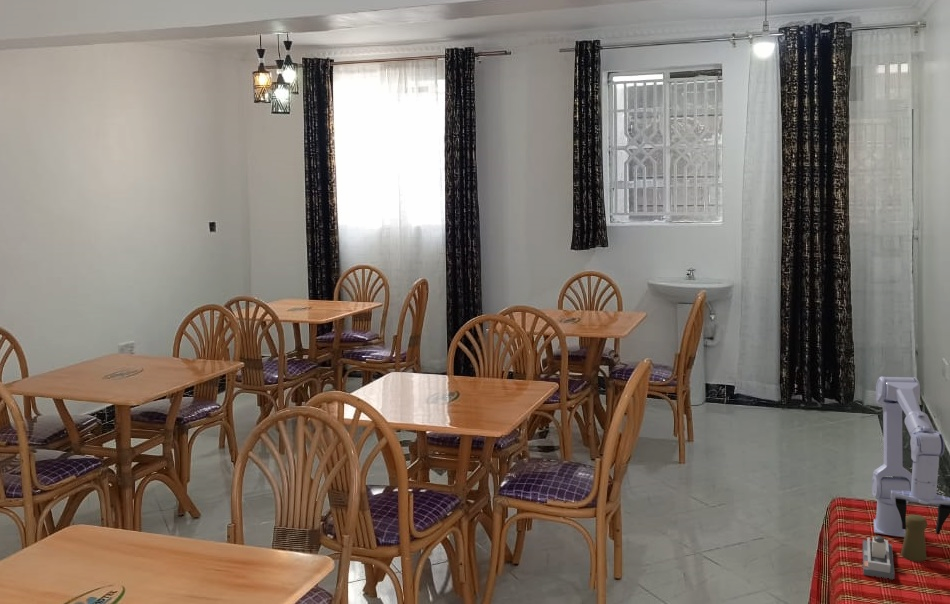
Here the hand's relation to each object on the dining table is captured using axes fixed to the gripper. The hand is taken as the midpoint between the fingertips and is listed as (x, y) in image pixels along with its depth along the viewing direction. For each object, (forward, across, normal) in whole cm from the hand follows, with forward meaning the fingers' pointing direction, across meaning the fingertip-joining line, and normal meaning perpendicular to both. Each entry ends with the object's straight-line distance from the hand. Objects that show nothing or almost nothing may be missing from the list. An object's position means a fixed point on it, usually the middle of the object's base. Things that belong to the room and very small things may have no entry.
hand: (920, 530), depth 217 cm
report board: (+10, -9, 0) cm, 14 cm away
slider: (+9, -9, +1) cm, 13 cm away
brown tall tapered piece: (+11, -1, +7) cm, 13 cm away
